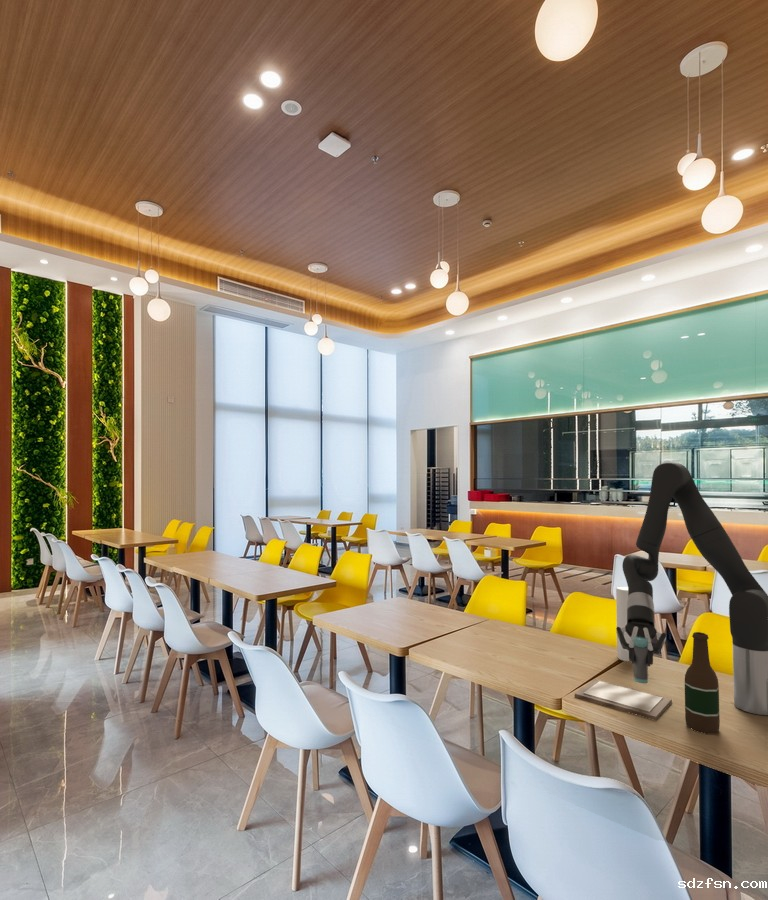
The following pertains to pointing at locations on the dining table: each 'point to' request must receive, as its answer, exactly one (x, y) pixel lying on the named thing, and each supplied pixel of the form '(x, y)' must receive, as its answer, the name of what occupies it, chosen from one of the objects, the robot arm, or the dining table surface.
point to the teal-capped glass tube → (640, 659)
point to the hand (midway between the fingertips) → (640, 663)
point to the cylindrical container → (622, 620)
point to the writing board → (624, 699)
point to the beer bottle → (701, 689)
